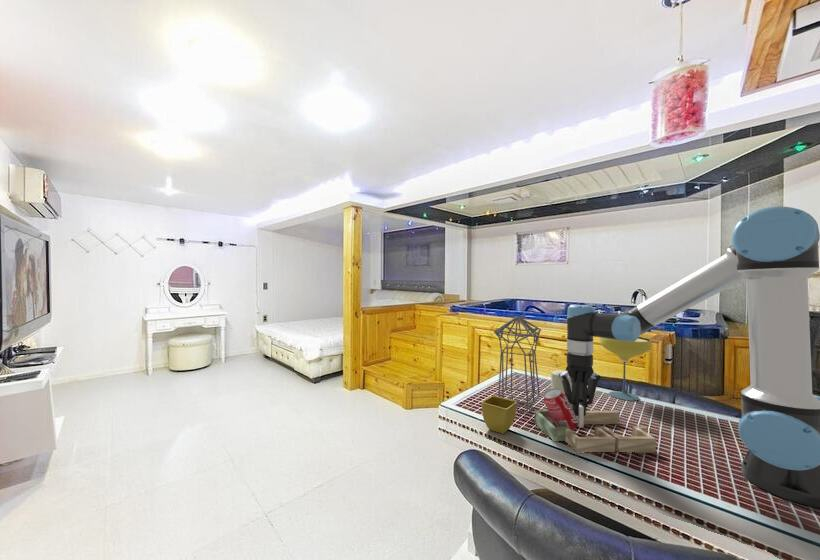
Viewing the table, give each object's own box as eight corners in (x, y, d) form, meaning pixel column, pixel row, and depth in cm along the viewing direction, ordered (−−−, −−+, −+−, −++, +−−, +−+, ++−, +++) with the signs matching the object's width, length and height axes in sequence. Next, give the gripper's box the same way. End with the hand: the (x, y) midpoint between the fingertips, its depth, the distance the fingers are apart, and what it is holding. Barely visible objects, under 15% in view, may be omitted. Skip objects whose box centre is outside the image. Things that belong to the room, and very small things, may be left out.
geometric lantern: (537, 419, 110) (535, 319, 110) (492, 410, 118) (491, 317, 119) (544, 404, 124) (542, 315, 124) (503, 397, 132) (502, 313, 132)
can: (545, 399, 129) (545, 370, 129) (561, 396, 133) (561, 368, 133) (565, 408, 121) (565, 376, 121) (581, 404, 125) (581, 374, 125)
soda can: (574, 417, 105) (558, 384, 105) (583, 428, 98) (566, 393, 98) (554, 425, 106) (538, 393, 106) (562, 436, 98) (545, 401, 99)
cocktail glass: (615, 403, 126) (616, 341, 126) (591, 388, 144) (591, 333, 144) (661, 405, 125) (662, 342, 125) (631, 389, 143) (632, 334, 143)
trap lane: (664, 452, 90) (664, 436, 90) (564, 453, 88) (564, 437, 88) (617, 422, 109) (617, 409, 109) (534, 422, 107) (534, 409, 107)
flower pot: (492, 420, 109) (492, 394, 109) (517, 428, 103) (517, 401, 103) (480, 430, 102) (480, 402, 102) (506, 438, 96) (506, 409, 96)
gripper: (591, 350, 106) (591, 419, 106) (554, 350, 105) (553, 420, 105) (606, 355, 98) (606, 430, 99) (566, 355, 98) (565, 431, 98)
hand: (579, 425), depth 102 cm, fingers closed
